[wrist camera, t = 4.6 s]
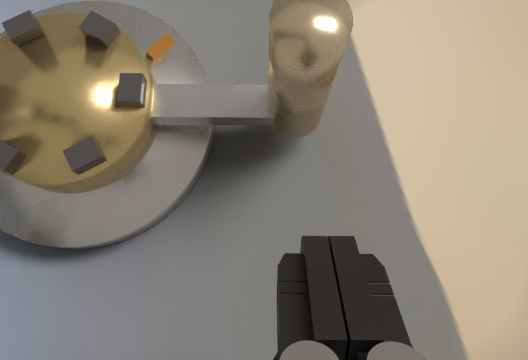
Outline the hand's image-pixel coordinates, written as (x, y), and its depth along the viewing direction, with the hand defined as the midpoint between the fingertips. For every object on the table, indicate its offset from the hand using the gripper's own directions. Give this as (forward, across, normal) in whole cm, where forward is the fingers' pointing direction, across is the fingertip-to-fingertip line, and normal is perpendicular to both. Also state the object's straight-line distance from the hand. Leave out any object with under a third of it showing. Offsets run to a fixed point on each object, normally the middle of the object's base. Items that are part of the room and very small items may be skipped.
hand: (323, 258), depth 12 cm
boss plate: (+15, +13, +2) cm, 20 cm away
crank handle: (+14, +8, +1) cm, 16 cm away
